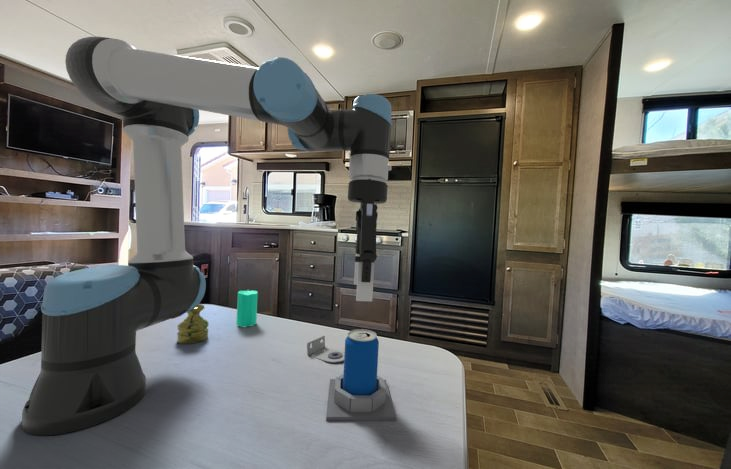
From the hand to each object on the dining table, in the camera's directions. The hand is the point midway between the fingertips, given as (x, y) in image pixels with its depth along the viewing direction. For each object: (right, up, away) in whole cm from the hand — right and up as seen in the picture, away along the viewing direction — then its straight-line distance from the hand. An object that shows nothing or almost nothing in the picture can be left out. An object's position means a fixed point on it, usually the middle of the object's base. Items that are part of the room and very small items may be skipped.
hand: (361, 291), depth 54 cm
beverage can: (-1, -20, 0) cm, 20 cm away
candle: (-38, -18, +37) cm, 57 cm away
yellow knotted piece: (-47, -18, +24) cm, 56 cm away
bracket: (-9, -21, +19) cm, 29 cm away
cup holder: (-1, -21, 0) cm, 21 cm away
